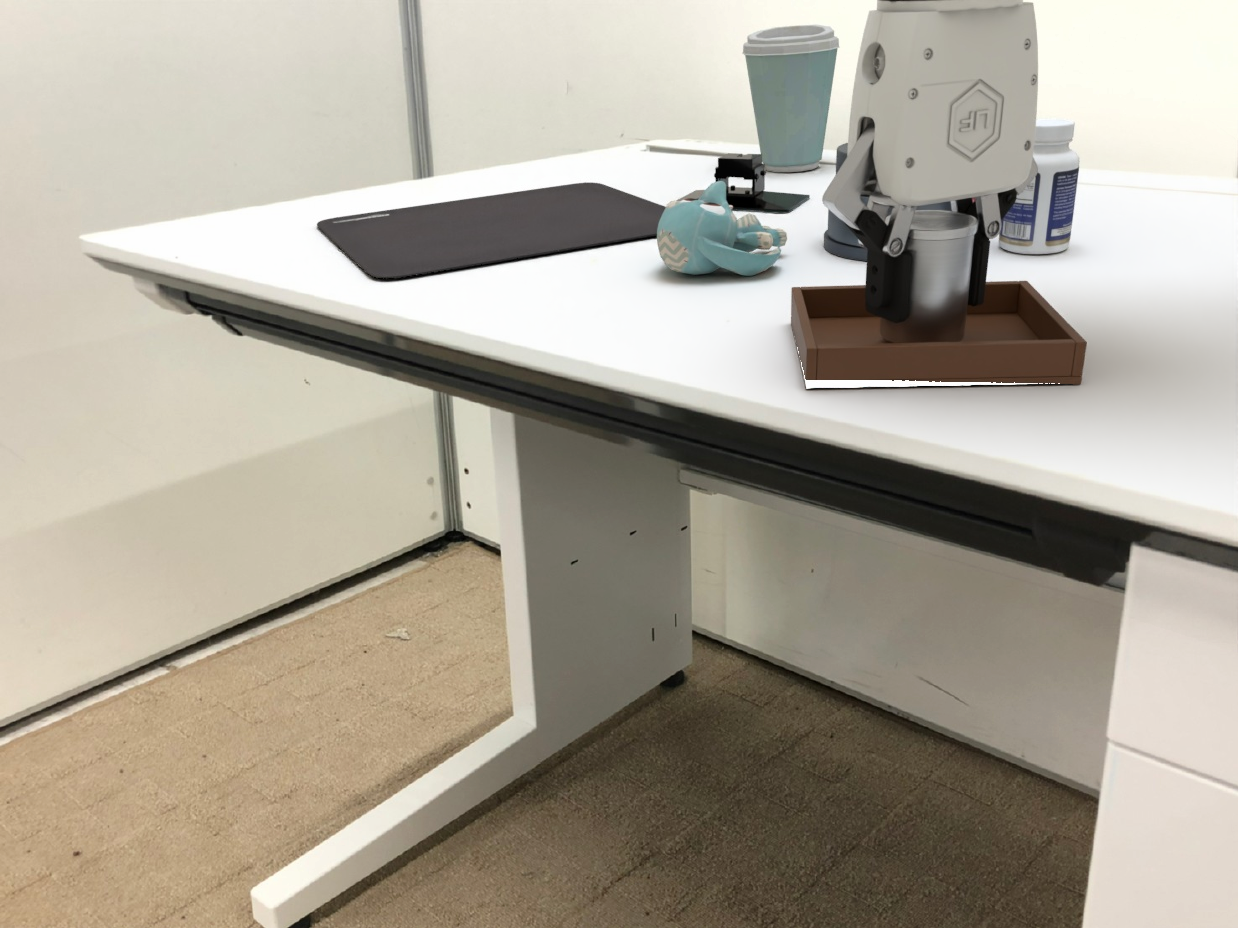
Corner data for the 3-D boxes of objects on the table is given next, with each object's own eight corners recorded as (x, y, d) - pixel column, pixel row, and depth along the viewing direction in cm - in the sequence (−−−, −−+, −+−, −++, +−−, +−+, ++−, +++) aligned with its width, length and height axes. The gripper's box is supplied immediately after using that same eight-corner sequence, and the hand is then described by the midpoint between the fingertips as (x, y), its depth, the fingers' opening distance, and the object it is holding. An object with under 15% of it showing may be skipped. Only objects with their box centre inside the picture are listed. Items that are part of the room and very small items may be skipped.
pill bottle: (1061, 238, 87) (1077, 115, 83) (1075, 255, 82) (1093, 126, 78) (992, 239, 88) (1005, 117, 84) (1002, 256, 83) (1016, 128, 79)
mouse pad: (594, 182, 119) (593, 180, 119) (714, 226, 97) (714, 223, 97) (312, 222, 107) (312, 220, 107) (375, 282, 85) (375, 280, 85)
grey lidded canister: (944, 228, 93) (952, 133, 89) (972, 260, 83) (982, 155, 79) (817, 232, 94) (820, 138, 90) (830, 264, 84) (834, 161, 80)
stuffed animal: (833, 193, 82) (717, 187, 75) (817, 285, 84) (704, 287, 77) (740, 176, 90) (628, 170, 83) (729, 261, 92) (618, 261, 85)
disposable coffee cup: (830, 176, 116) (835, 29, 109) (733, 176, 119) (733, 33, 112) (840, 159, 125) (845, 22, 118) (750, 159, 128) (750, 26, 121)
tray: (1022, 317, 70) (1027, 280, 69) (1081, 384, 59) (1087, 342, 58) (790, 322, 71) (791, 286, 70) (805, 389, 60) (806, 348, 59)
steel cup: (956, 319, 67) (967, 208, 64) (975, 347, 62) (988, 228, 59) (871, 321, 67) (878, 211, 64) (883, 349, 62) (891, 231, 59)
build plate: (810, 199, 107) (812, 152, 104) (787, 215, 101) (788, 165, 99) (696, 192, 112) (696, 147, 110) (668, 207, 106) (667, 160, 104)
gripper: (863, -13, 50) (846, 352, 58) (1125, -31, 56) (1077, 300, 64) (775, -13, 56) (770, 317, 64) (1020, -29, 62) (988, 272, 70)
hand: (924, 305), depth 64 cm, fingers closed on steel cup, 5 cm apart
